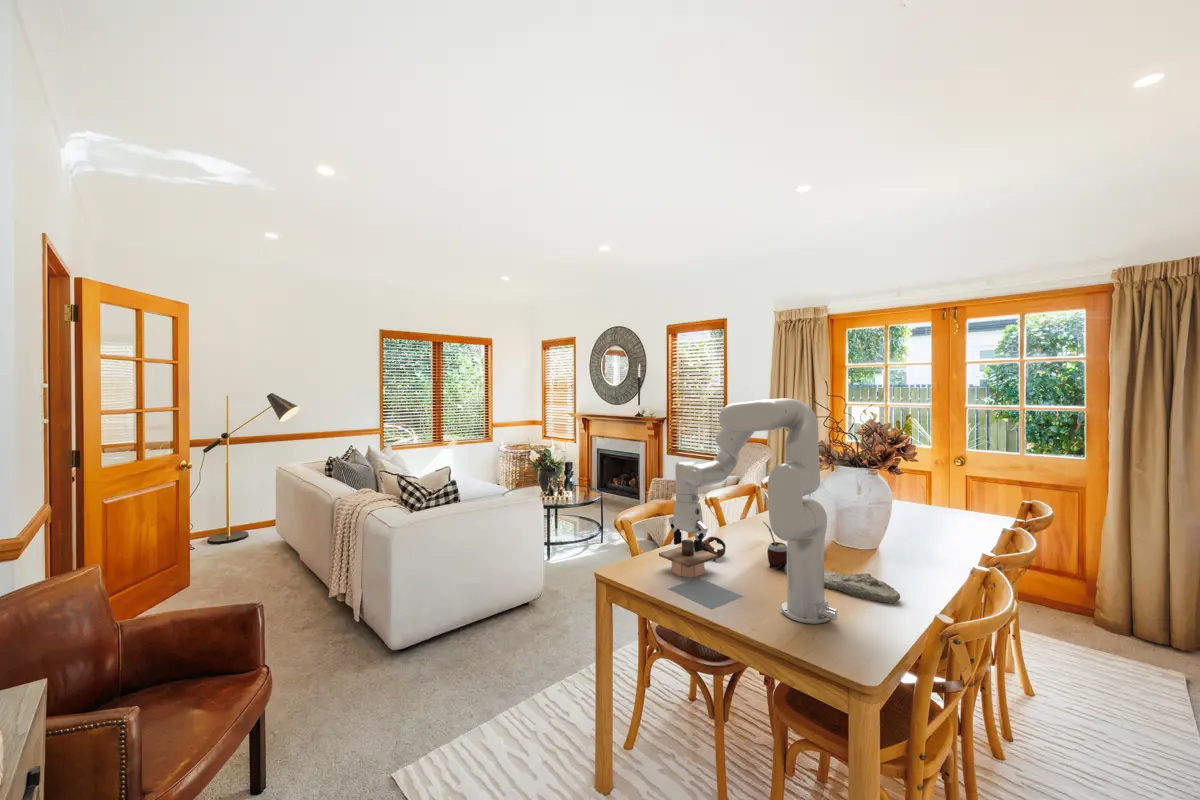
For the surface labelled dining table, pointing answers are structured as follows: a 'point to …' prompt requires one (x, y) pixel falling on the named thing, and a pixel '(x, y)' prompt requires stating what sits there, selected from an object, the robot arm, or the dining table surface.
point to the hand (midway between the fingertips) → (687, 547)
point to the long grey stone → (860, 586)
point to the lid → (687, 555)
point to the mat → (705, 593)
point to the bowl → (688, 570)
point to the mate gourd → (776, 553)
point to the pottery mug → (709, 548)
